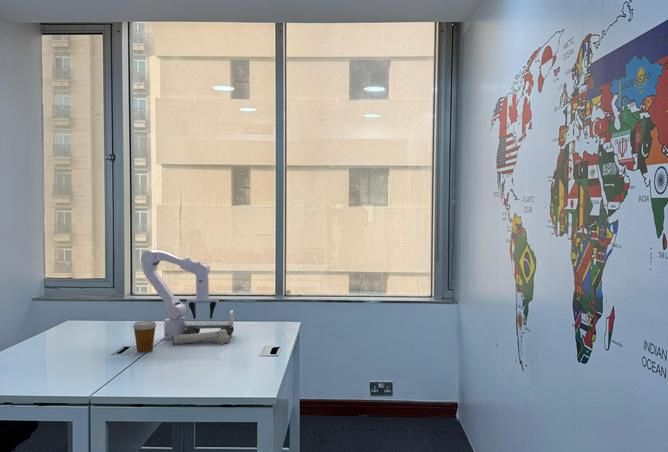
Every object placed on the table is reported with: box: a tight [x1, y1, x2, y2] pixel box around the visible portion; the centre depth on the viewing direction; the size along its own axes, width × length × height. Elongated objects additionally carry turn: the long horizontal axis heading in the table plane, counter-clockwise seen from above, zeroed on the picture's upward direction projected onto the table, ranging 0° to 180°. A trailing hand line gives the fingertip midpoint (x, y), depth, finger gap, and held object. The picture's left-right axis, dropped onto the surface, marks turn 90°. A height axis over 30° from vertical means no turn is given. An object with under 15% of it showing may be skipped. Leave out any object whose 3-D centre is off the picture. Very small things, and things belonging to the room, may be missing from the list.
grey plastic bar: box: [171, 329, 231, 346], centre depth 256 cm, size 5×7×25 cm
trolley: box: [183, 310, 235, 340], centre depth 266 cm, size 22×13×12 cm, turn 95°
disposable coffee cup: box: [132, 320, 157, 353], centre depth 242 cm, size 10×10×12 cm
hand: (202, 318), depth 267 cm, fingers open, 7 cm apart
